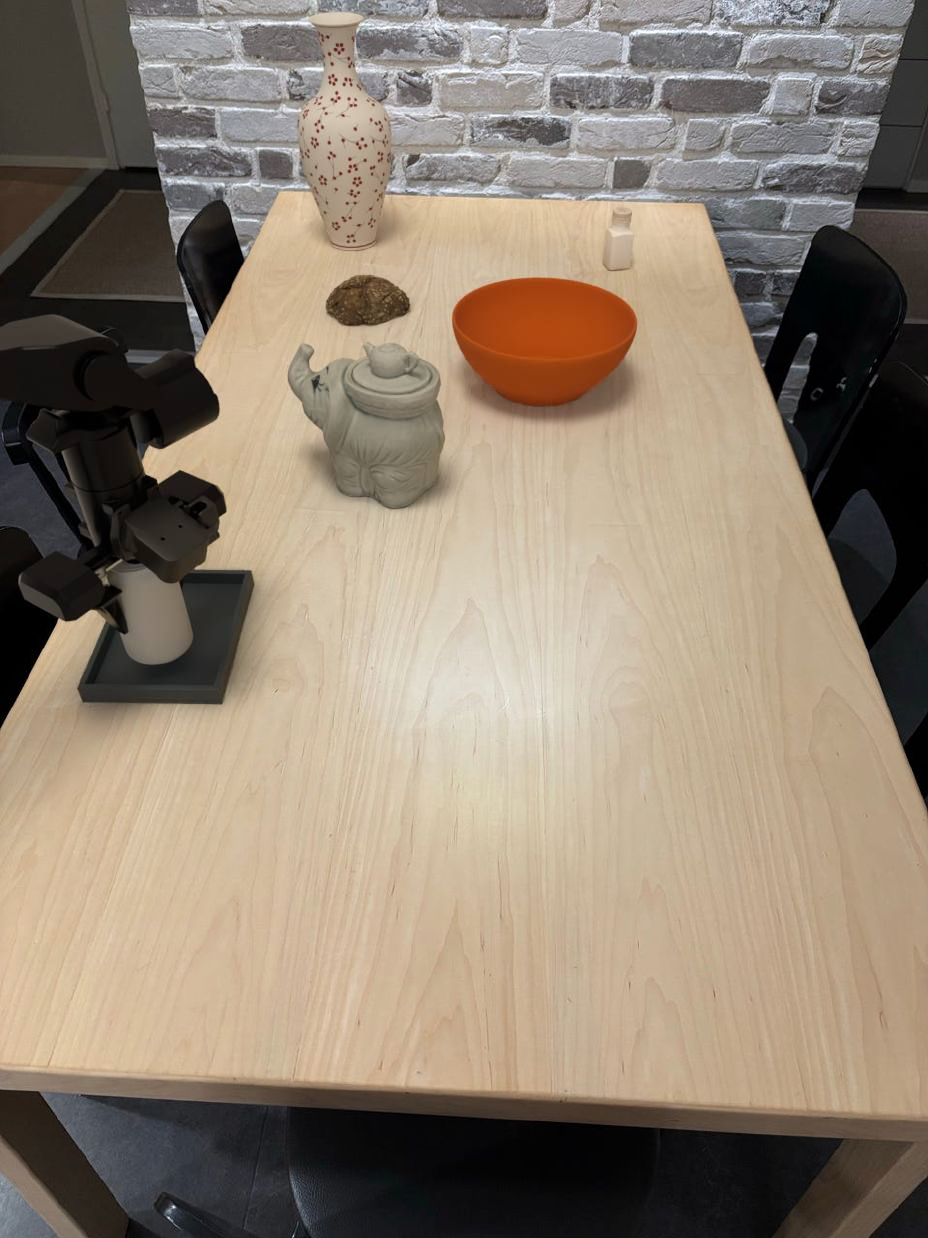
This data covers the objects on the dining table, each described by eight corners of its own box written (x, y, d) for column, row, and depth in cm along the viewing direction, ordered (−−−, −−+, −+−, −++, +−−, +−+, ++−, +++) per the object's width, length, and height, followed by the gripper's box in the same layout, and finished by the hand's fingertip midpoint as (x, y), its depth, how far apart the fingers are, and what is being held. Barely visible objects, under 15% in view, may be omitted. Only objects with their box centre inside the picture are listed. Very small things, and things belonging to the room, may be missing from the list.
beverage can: (160, 679, 86) (130, 584, 77) (112, 652, 88) (78, 557, 80) (208, 639, 90) (184, 544, 81) (161, 614, 92) (133, 520, 84)
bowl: (571, 328, 143) (577, 265, 136) (663, 403, 126) (674, 336, 119) (424, 361, 135) (422, 295, 128) (501, 446, 118) (504, 376, 112)
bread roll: (370, 285, 154) (368, 256, 150) (420, 308, 148) (419, 278, 144) (310, 309, 147) (307, 279, 144) (361, 334, 141) (358, 303, 138)
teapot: (296, 459, 116) (276, 318, 103) (405, 432, 121) (399, 294, 108) (340, 532, 105) (324, 385, 92) (458, 499, 110) (458, 355, 97)
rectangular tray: (222, 704, 86) (218, 690, 85) (82, 702, 86) (76, 688, 85) (254, 583, 99) (251, 569, 97) (132, 582, 99) (128, 568, 97)
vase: (363, 266, 160) (347, 32, 136) (291, 247, 166) (262, 20, 142) (413, 235, 170) (406, 13, 146) (343, 219, 176) (325, 3, 152)
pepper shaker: (601, 262, 161) (607, 206, 155) (622, 260, 162) (629, 205, 156) (609, 271, 159) (615, 215, 152) (630, 269, 159) (638, 213, 153)
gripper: (84, 567, 66) (135, 710, 77) (258, 449, 78) (281, 587, 88) (-15, 516, 70) (47, 658, 81) (164, 411, 82) (197, 547, 93)
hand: (150, 611), depth 86 cm, fingers closed on beverage can, 6 cm apart
